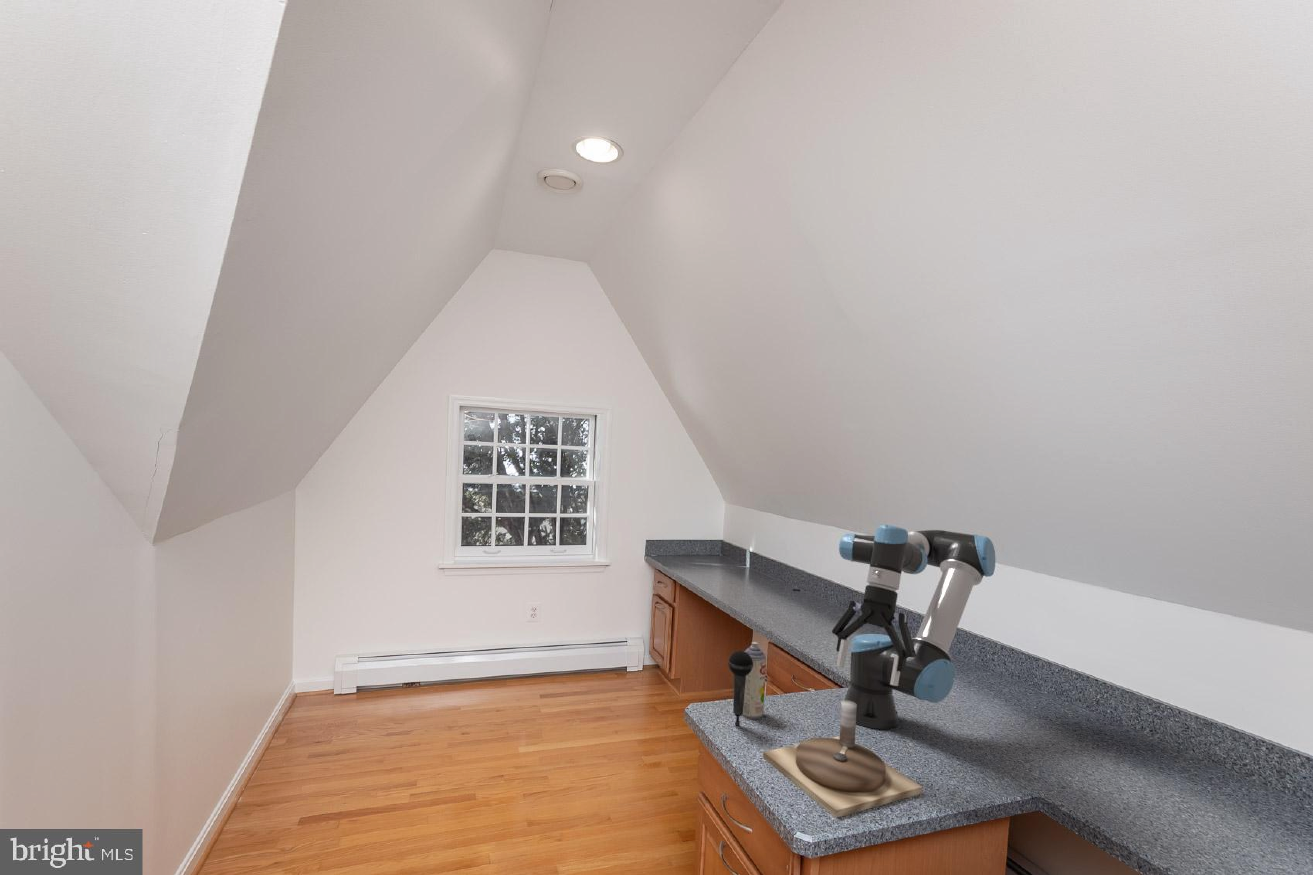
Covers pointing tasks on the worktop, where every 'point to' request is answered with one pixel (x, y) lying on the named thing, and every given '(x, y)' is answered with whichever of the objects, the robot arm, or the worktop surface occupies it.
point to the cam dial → (841, 758)
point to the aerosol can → (755, 684)
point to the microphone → (739, 679)
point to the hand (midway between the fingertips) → (866, 675)
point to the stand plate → (839, 799)
